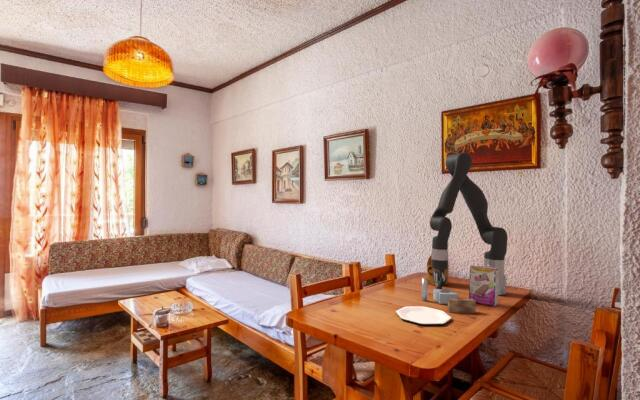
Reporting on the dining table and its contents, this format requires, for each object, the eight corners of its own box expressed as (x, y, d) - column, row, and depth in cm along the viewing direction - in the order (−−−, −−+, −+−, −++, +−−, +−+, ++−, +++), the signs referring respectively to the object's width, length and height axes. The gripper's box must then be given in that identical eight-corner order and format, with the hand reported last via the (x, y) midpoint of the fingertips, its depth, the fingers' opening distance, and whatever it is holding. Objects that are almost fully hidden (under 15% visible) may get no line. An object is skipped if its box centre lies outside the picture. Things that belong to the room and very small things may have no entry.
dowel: (426, 299, 159) (426, 278, 159) (428, 301, 156) (428, 279, 156) (420, 299, 159) (421, 278, 159) (422, 301, 156) (422, 279, 156)
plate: (388, 318, 134) (388, 314, 134) (411, 306, 149) (411, 303, 149) (437, 331, 121) (437, 327, 121) (457, 317, 136) (457, 314, 136)
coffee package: (423, 283, 189) (423, 243, 189) (434, 280, 198) (435, 242, 198) (439, 287, 182) (440, 245, 182) (450, 283, 191) (451, 244, 190)
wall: (473, 310, 144) (473, 299, 144) (475, 312, 142) (475, 300, 142) (447, 310, 143) (447, 298, 143) (449, 312, 141) (449, 300, 141)
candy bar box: (468, 301, 157) (469, 265, 157) (472, 299, 161) (473, 264, 161) (494, 307, 150) (495, 269, 149) (498, 304, 153) (499, 268, 153)
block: (449, 298, 160) (450, 289, 160) (457, 303, 152) (457, 294, 152) (433, 298, 160) (433, 289, 160) (439, 303, 152) (439, 293, 152)
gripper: (453, 261, 157) (452, 298, 157) (442, 256, 170) (441, 291, 170) (437, 260, 156) (436, 298, 157) (427, 255, 170) (426, 290, 170)
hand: (438, 294), depth 163 cm, fingers closed
